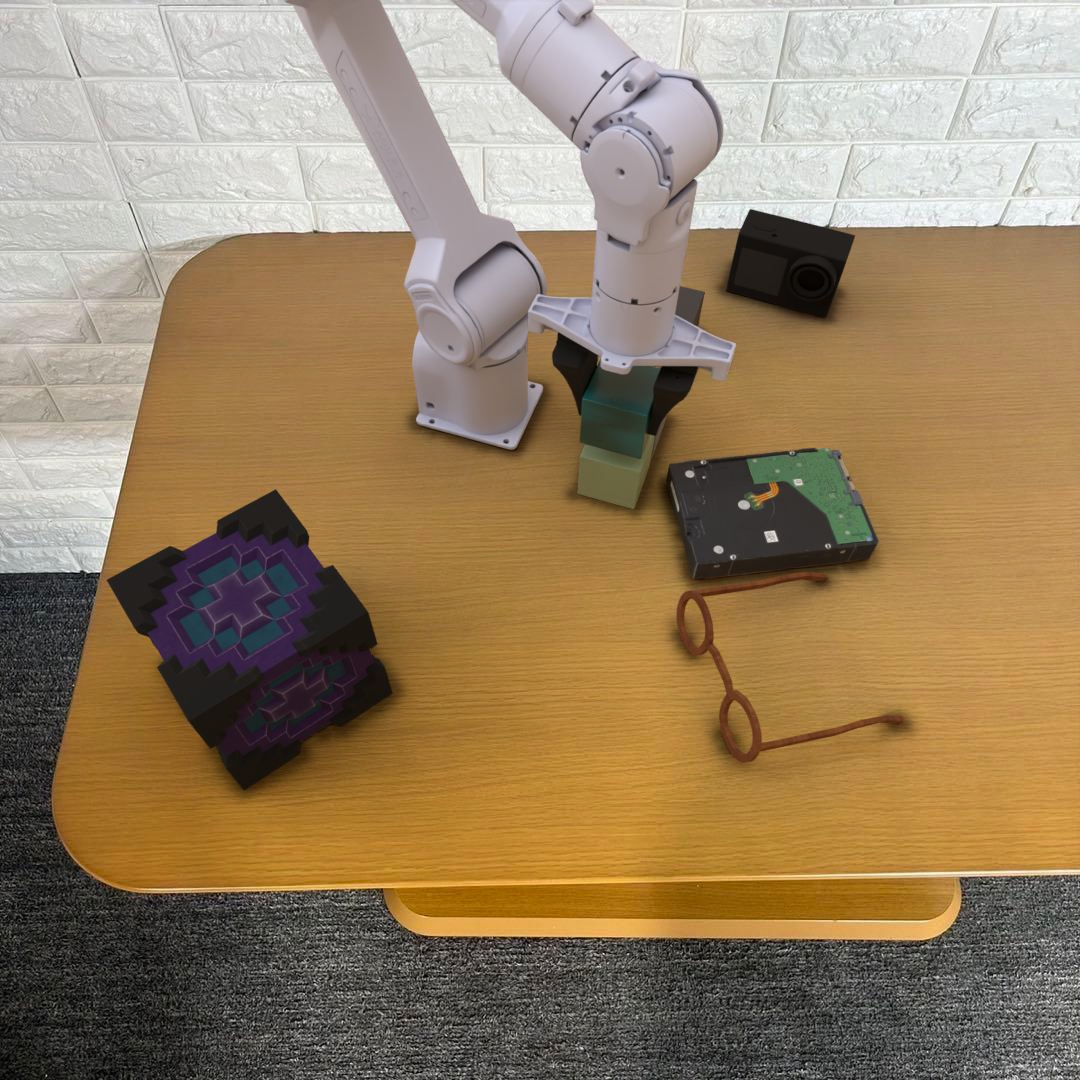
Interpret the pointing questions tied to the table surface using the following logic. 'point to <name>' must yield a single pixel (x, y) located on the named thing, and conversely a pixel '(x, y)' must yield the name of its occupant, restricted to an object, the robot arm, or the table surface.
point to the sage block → (613, 475)
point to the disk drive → (769, 512)
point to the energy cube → (255, 637)
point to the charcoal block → (689, 304)
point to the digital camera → (788, 262)
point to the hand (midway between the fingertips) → (619, 416)
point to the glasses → (730, 693)
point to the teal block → (618, 410)
